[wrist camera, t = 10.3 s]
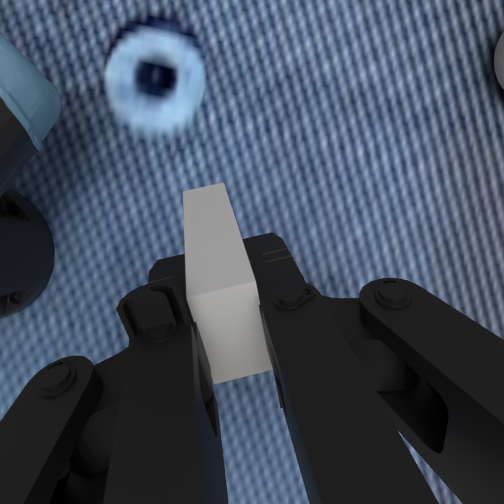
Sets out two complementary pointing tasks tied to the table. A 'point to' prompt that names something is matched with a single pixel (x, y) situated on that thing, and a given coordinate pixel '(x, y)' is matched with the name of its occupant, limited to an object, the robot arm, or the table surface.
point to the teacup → (499, 60)
